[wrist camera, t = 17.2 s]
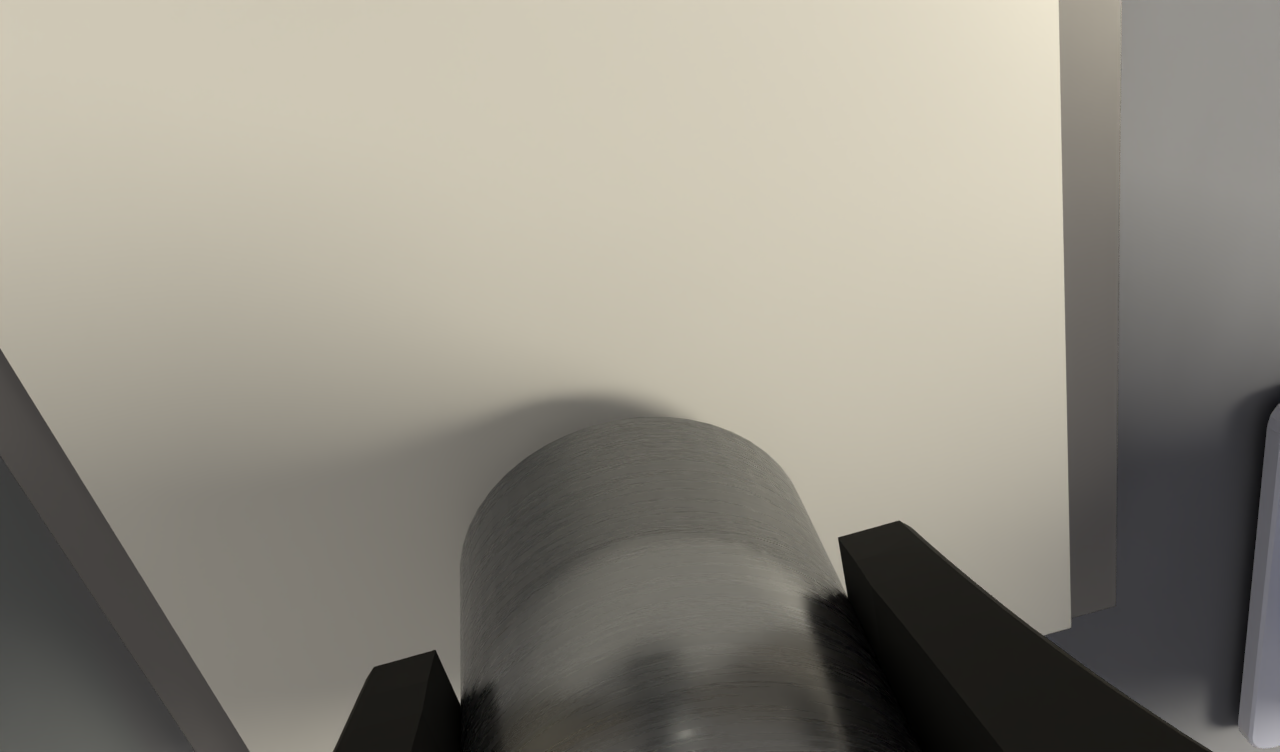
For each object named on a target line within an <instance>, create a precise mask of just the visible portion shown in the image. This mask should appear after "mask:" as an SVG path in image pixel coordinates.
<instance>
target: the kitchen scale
mask: <svg viewBox="0 0 1280 752" xmlns="http://www.w3.org/2000/svg"><path fill="white" fill-rule="evenodd" d="M1121 8H1122V0H0V456H1V458H2V459H3V461H4V462H5V464H6V465H7V467H8V468H9V470H10V471H11V473H12V474H13V476H14V477H15V479H16V481H17V482H18V484H19V485H20V487H21V488H22V490H23V491H24V493H25V494H26V496H27V497H28V499H29V500H30V502H31V503H32V505H33V506H34V508H35V509H36V511H37V512H38V514H39V515H40V517H41V518H42V520H43V522H44V523H45V525H46V526H47V528H48V529H49V531H50V532H51V534H52V535H53V537H54V538H55V540H56V541H57V543H58V544H59V546H60V547H61V549H62V550H63V552H64V553H65V555H66V556H67V558H68V559H69V561H70V562H71V564H72V566H73V567H74V569H75V570H76V572H77V573H78V575H79V576H80V578H81V579H82V581H83V582H84V584H85V585H86V587H87V588H88V590H89V591H90V593H91V594H92V596H93V597H94V599H95V600H96V602H97V603H98V605H99V606H100V608H101V610H102V611H103V613H104V614H105V616H106V617H107V619H108V620H109V622H110V623H111V625H112V626H113V628H114V629H115V631H116V632H117V634H118V635H119V637H120V638H121V640H122V641H123V643H124V644H125V646H126V647H127V649H128V650H129V652H130V654H131V655H132V657H133V658H134V660H135V661H136V663H137V664H138V666H139V667H140V669H141V670H142V672H143V673H144V675H145V676H146V678H147V679H148V681H149V682H150V684H151V685H152V687H153V688H154V690H155V691H156V693H157V694H158V696H159V698H160V699H161V701H162V702H163V704H164V705H165V707H166V708H167V710H168V711H169V713H170V714H171V716H172V717H173V719H174V720H175V722H176V723H177V725H178V726H179V728H180V729H181V731H182V732H183V734H184V735H185V737H186V738H187V740H188V742H189V743H190V745H191V746H192V748H193V749H194V751H195V752H333V750H334V748H335V746H336V744H337V742H338V739H339V737H340V735H341V733H342V731H343V728H344V726H345V724H346V722H347V720H348V717H349V715H350V713H351V711H352V709H353V707H354V704H355V702H356V700H357V698H358V696H359V693H360V691H361V689H362V687H363V685H364V683H365V680H366V678H367V677H368V675H369V674H370V672H371V670H372V669H373V667H375V666H379V665H382V664H386V663H390V662H393V661H397V660H400V659H404V658H408V657H411V656H415V655H418V654H422V653H425V652H429V651H433V650H436V652H437V654H438V656H439V658H440V661H441V663H442V665H443V667H444V670H445V672H446V674H447V676H448V678H449V681H450V683H451V685H452V687H453V689H454V692H455V694H456V696H457V698H458V701H459V703H460V705H461V681H460V560H461V554H462V547H463V543H464V540H465V537H466V534H467V531H468V528H469V526H470V524H471V522H472V520H473V518H474V516H475V514H476V512H477V510H478V508H479V507H480V505H481V504H482V502H483V501H484V500H485V498H486V497H487V495H488V494H489V492H490V491H491V490H492V489H493V488H494V487H495V486H496V484H497V483H498V482H499V481H500V480H501V479H502V478H503V477H504V476H505V475H506V474H507V473H508V472H509V471H511V470H512V469H513V468H514V467H515V466H517V465H518V464H519V463H520V462H521V461H523V460H524V459H525V458H527V457H528V456H530V455H531V454H533V453H534V452H536V451H537V450H539V449H541V448H542V447H544V446H545V445H547V444H549V443H551V442H554V441H556V440H558V439H560V438H562V437H564V436H566V435H568V434H571V433H574V432H576V431H579V430H582V429H585V428H587V427H590V426H594V425H598V424H602V423H606V422H610V421H615V420H622V419H630V418H638V417H671V418H681V419H690V420H694V421H699V422H703V423H708V424H712V425H714V426H717V427H720V428H723V429H726V430H728V431H731V432H733V433H735V434H737V435H739V436H741V437H743V438H745V439H747V440H749V441H751V442H752V443H753V444H755V445H756V446H758V447H759V448H760V449H762V450H763V451H765V452H766V453H767V454H768V455H769V456H770V457H771V458H772V459H773V460H774V461H776V462H777V463H778V464H779V465H780V466H781V468H782V469H783V470H784V472H785V473H786V474H787V476H788V477H789V478H790V480H791V481H792V483H793V485H794V487H795V489H796V491H797V493H798V495H799V497H800V499H801V501H802V503H803V505H804V507H805V509H806V511H807V513H808V515H809V517H810V519H811V521H812V524H813V526H814V528H815V530H816V532H817V534H818V536H819V538H820V540H821V542H822V544H823V546H824V548H825V551H826V553H827V555H828V557H829V559H830V561H831V563H832V565H833V567H834V569H835V571H836V573H837V576H838V578H839V580H840V582H841V584H842V586H843V588H844V590H845V592H846V594H847V590H846V584H845V578H844V572H843V566H842V560H841V554H840V548H839V542H838V537H841V536H845V535H848V534H852V533H856V532H859V531H863V530H866V529H870V528H874V527H877V526H881V525H884V524H888V523H891V522H895V521H901V522H903V523H905V524H907V525H908V526H910V527H912V528H913V529H914V530H915V531H916V532H917V533H918V534H919V535H921V536H922V537H923V538H924V539H925V540H926V541H927V542H928V543H930V544H931V545H932V546H933V547H934V548H935V549H937V550H938V551H939V552H940V553H941V554H942V555H943V556H945V557H946V558H947V559H948V560H949V561H950V562H952V563H953V564H954V565H955V566H956V567H958V568H959V569H960V570H961V571H962V572H964V573H965V574H966V575H967V576H968V577H970V578H971V579H972V580H973V581H974V582H976V583H977V584H978V585H979V586H981V587H982V588H983V589H984V590H986V591H987V592H988V593H989V594H990V595H992V596H993V597H994V598H995V599H997V600H998V601H999V602H1000V603H1002V604H1003V605H1004V606H1005V607H1007V608H1008V609H1009V610H1010V611H1012V612H1013V613H1014V614H1016V615H1017V616H1018V617H1019V618H1021V619H1022V620H1023V621H1025V622H1026V623H1027V624H1028V625H1030V626H1031V627H1032V628H1034V629H1035V630H1037V631H1038V632H1039V633H1041V634H1042V635H1047V634H1050V633H1054V632H1058V631H1061V630H1065V629H1068V628H1071V618H1075V617H1078V616H1082V615H1085V614H1089V613H1092V612H1096V611H1099V610H1103V609H1106V608H1110V607H1114V606H1116V529H1117V425H1118V321H1119V217H1120V112H1121Z"/></svg>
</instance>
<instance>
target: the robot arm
mask: <svg viewBox="0 0 1280 752" xmlns="http://www.w3.org/2000/svg"><path fill="white" fill-rule="evenodd" d="M838 542H839V548H840V554H841V560H842V566H843V572H844V578H845V584H846V590H847V596H848V599H849V601H850V603H851V605H852V608H853V610H854V612H855V614H856V616H857V618H858V620H859V622H860V624H861V626H862V628H863V630H864V633H865V635H866V637H867V639H868V641H869V643H870V645H871V647H872V649H873V651H874V653H875V655H876V658H877V660H878V662H879V664H880V666H881V668H882V670H883V672H884V674H885V676H886V678H887V680H888V682H889V684H890V687H891V689H892V691H893V693H894V695H895V697H896V699H897V701H898V703H899V705H900V707H901V709H902V711H903V713H904V715H905V717H906V719H907V721H908V723H909V726H910V728H911V730H912V732H913V734H914V736H915V738H916V740H917V742H918V744H919V746H920V748H921V750H922V752H1212V751H1211V750H1209V749H1208V748H1206V747H1204V746H1203V745H1201V744H1200V743H1198V742H1197V741H1195V740H1193V739H1192V738H1190V737H1189V736H1187V735H1185V734H1184V733H1182V732H1181V731H1179V730H1178V729H1176V728H1175V727H1173V726H1172V725H1170V724H1169V723H1167V722H1166V721H1164V720H1163V719H1161V718H1160V717H1158V716H1157V715H1155V714H1154V713H1152V712H1151V711H1149V710H1148V709H1146V708H1145V707H1143V706H1142V705H1140V704H1139V703H1137V702H1136V701H1134V700H1133V699H1131V698H1129V697H1128V696H1126V695H1125V694H1124V693H1122V692H1121V691H1119V690H1118V689H1116V688H1115V687H1114V686H1112V685H1111V684H1109V683H1108V682H1106V681H1105V680H1104V679H1102V678H1101V677H1099V676H1098V675H1096V674H1095V673H1094V672H1092V671H1091V670H1089V669H1088V668H1087V667H1085V666H1084V665H1083V664H1081V663H1080V662H1078V661H1077V660H1076V659H1074V658H1073V657H1072V656H1070V655H1069V654H1068V653H1066V652H1065V651H1064V650H1062V649H1061V648H1060V647H1058V646H1057V645H1055V644H1054V643H1053V642H1051V641H1050V640H1049V639H1047V638H1046V637H1045V636H1043V635H1042V634H1041V633H1039V632H1038V631H1037V630H1035V629H1034V628H1032V627H1031V626H1030V625H1028V624H1027V623H1026V622H1025V621H1023V620H1022V619H1021V618H1019V617H1018V616H1017V615H1016V614H1014V613H1013V612H1012V611H1010V610H1009V609H1008V608H1007V607H1005V606H1004V605H1003V604H1002V603H1000V602H999V601H998V600H997V599H995V598H994V597H993V596H992V595H990V594H989V593H988V592H987V591H986V590H984V589H983V588H982V587H981V586H979V585H978V584H977V583H976V582H974V581H973V580H972V579H971V578H970V577H968V576H967V575H966V574H965V573H964V572H962V571H961V570H960V569H959V568H958V567H956V566H955V565H954V564H953V563H952V562H950V561H949V560H948V559H947V558H946V557H945V556H943V555H942V554H941V553H940V552H939V551H938V550H937V549H935V548H934V547H933V546H932V545H931V544H930V543H928V542H927V541H926V540H925V539H924V538H923V537H922V536H921V535H919V534H918V533H917V532H916V531H915V530H914V529H913V528H912V527H910V526H908V525H907V524H905V523H903V522H901V521H895V522H891V523H888V524H884V525H881V526H877V527H874V528H870V529H866V530H863V531H859V532H856V533H852V534H848V535H845V536H841V537H838ZM1238 727H1239V731H1240V732H1241V733H1242V735H1243V736H1244V737H1245V738H1246V739H1247V740H1248V742H1249V743H1250V744H1251V745H1253V746H1254V747H1257V748H1263V749H1266V748H1272V747H1276V746H1280V403H1279V404H1278V405H1277V406H1276V408H1275V409H1274V410H1273V412H1272V413H1271V415H1270V418H1269V422H1268V425H1267V433H1266V443H1265V453H1264V463H1263V474H1262V484H1261V494H1260V504H1259V515H1258V525H1257V535H1256V545H1255V556H1254V566H1253V576H1252V586H1251V597H1250V607H1249V617H1248V627H1247V638H1246V648H1245V658H1244V668H1243V679H1242V689H1241V699H1240V709H1239V720H1238ZM333 752H461V705H460V703H459V701H458V698H457V696H456V694H455V692H454V689H453V687H452V685H451V683H450V681H449V678H448V676H447V674H446V672H445V670H444V667H443V665H442V663H441V661H440V658H439V656H438V654H437V652H436V650H433V651H429V652H425V653H422V654H418V655H415V656H411V657H408V658H404V659H400V660H397V661H393V662H390V663H386V664H382V665H379V666H375V667H373V669H372V670H371V672H370V674H369V675H368V677H367V678H366V680H365V683H364V685H363V687H362V689H361V691H360V693H359V696H358V698H357V700H356V702H355V704H354V707H353V709H352V711H351V713H350V715H349V717H348V720H347V722H346V724H345V726H344V728H343V731H342V733H341V735H340V737H339V739H338V742H337V744H336V746H335V748H334V750H333Z"/></svg>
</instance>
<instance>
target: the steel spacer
mask: <svg viewBox="0 0 1280 752" xmlns="http://www.w3.org/2000/svg"><path fill="white" fill-rule="evenodd" d="M460 681H461V752H922V750H921V748H920V746H919V744H918V742H917V740H916V738H915V736H914V734H913V732H912V730H911V728H910V726H909V723H908V721H907V719H906V717H905V715H904V713H903V711H902V709H901V707H900V705H899V703H898V701H897V699H896V697H895V695H894V693H893V691H892V689H891V687H890V684H889V682H888V680H887V678H886V676H885V674H884V672H883V670H882V668H881V666H880V664H879V662H878V660H877V658H876V655H875V653H874V651H873V649H872V647H871V645H870V643H869V641H868V639H867V637H866V635H865V633H864V630H863V628H862V626H861V624H860V622H859V620H858V618H857V616H856V614H855V612H854V610H853V608H852V605H851V603H850V601H849V599H848V596H847V594H846V592H845V590H844V588H843V586H842V584H841V582H840V580H839V578H838V576H837V573H836V571H835V569H834V567H833V565H832V563H831V561H830V559H829V557H828V555H827V553H826V551H825V548H824V546H823V544H822V542H821V540H820V538H819V536H818V534H817V532H816V530H815V528H814V526H813V524H812V521H811V519H810V517H809V515H808V513H807V511H806V509H805V507H804V505H803V503H802V501H801V499H800V497H799V495H798V493H797V491H796V489H795V487H794V485H793V483H792V481H791V480H790V478H789V477H788V476H787V474H786V473H785V472H784V470H783V469H782V468H781V466H780V465H779V464H778V463H777V462H776V461H774V460H773V459H772V458H771V457H770V456H769V455H768V454H767V453H766V452H765V451H763V450H762V449H760V448H759V447H758V446H756V445H755V444H753V443H752V442H751V441H749V440H747V439H745V438H743V437H741V436H739V435H737V434H735V433H733V432H731V431H728V430H726V429H723V428H720V427H717V426H714V425H712V424H708V423H703V422H699V421H694V420H690V419H681V418H671V417H638V418H630V419H622V420H615V421H610V422H606V423H602V424H598V425H594V426H590V427H587V428H585V429H582V430H579V431H576V432H574V433H571V434H568V435H566V436H564V437H562V438H560V439H558V440H556V441H554V442H551V443H549V444H547V445H545V446H544V447H542V448H541V449H539V450H537V451H536V452H534V453H533V454H531V455H530V456H528V457H527V458H525V459H524V460H523V461H521V462H520V463H519V464H518V465H517V466H515V467H514V468H513V469H512V470H511V471H509V472H508V473H507V474H506V475H505V476H504V477H503V478H502V479H501V480H500V481H499V482H498V483H497V484H496V486H495V487H494V488H493V489H492V490H491V491H490V492H489V494H488V495H487V497H486V498H485V500H484V501H483V502H482V504H481V505H480V507H479V508H478V510H477V512H476V514H475V516H474V518H473V520H472V522H471V524H470V526H469V528H468V531H467V534H466V537H465V540H464V543H463V547H462V554H461V560H460Z"/></svg>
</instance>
